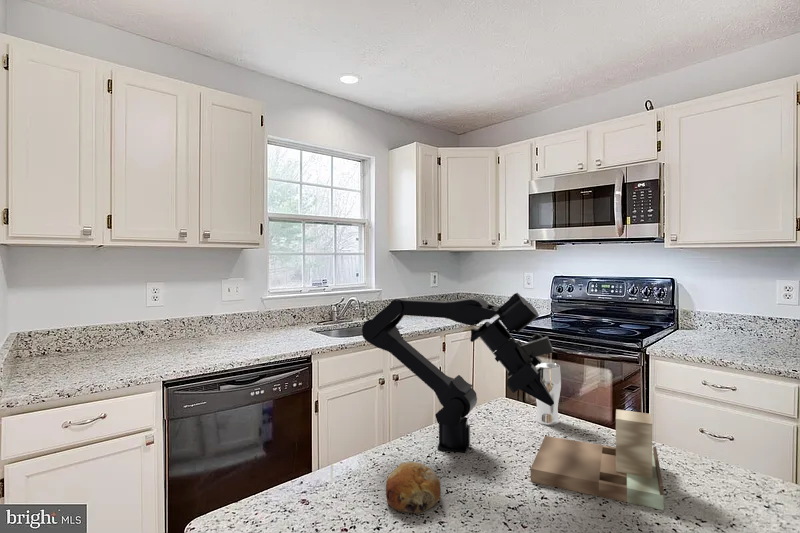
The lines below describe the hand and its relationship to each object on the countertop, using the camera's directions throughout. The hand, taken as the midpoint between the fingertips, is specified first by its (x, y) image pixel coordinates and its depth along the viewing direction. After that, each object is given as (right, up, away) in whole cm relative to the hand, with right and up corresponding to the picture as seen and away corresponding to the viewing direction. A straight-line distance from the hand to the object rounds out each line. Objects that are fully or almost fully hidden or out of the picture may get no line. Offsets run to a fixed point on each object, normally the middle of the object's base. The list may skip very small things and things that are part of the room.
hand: (552, 404), depth 92 cm
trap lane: (+7, -12, -4) cm, 15 cm away
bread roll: (-30, -13, -14) cm, 35 cm away
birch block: (+13, -10, -8) cm, 18 cm away
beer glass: (+7, -12, +25) cm, 29 cm away
